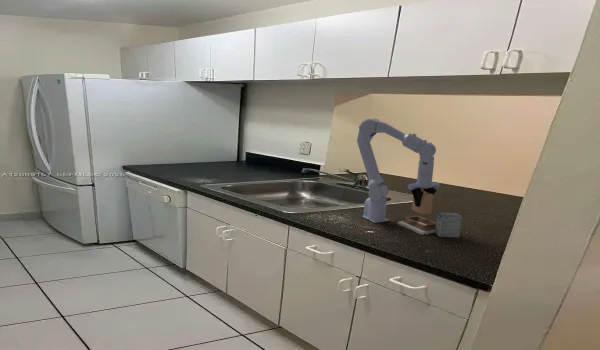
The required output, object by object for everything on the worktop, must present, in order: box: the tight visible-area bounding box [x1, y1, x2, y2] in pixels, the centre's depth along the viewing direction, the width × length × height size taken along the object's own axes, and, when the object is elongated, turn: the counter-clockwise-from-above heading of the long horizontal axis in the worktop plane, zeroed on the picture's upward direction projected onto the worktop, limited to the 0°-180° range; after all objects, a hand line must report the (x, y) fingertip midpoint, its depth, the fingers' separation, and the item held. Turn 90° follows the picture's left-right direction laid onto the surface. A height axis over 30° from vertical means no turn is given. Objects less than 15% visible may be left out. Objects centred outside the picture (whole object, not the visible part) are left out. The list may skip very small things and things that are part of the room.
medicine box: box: [434, 212, 463, 238], centre depth 137 cm, size 8×4×9 cm, turn 92°
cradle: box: [397, 215, 437, 236], centre depth 146 cm, size 14×12×3 cm
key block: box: [411, 189, 434, 215], centre depth 144 cm, size 4×7×8 cm, turn 22°
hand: (421, 205), depth 144 cm, fingers closed on key block, 4 cm apart
